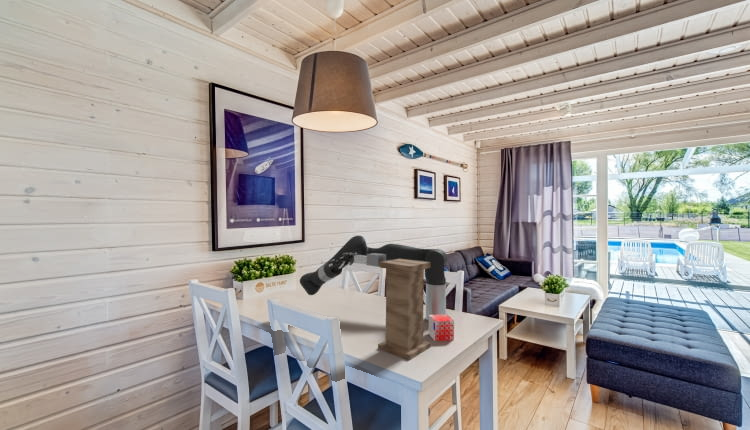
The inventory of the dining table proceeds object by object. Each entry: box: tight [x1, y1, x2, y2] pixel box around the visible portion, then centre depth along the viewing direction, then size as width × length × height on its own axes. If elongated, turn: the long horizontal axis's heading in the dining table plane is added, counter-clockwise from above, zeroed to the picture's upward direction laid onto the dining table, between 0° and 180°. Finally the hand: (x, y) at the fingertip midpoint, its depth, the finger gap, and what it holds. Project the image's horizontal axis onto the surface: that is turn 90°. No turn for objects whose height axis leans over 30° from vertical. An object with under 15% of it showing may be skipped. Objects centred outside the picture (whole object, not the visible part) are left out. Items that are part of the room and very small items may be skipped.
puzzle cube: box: [428, 313, 455, 342], centre depth 131 cm, size 8×8×8 cm
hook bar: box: [342, 253, 386, 268], centre depth 133 cm, size 5×21×4 cm, turn 50°
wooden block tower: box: [377, 259, 431, 360], centre depth 119 cm, size 14×14×32 cm
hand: (353, 255), depth 136 cm, fingers closed on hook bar, 3 cm apart
